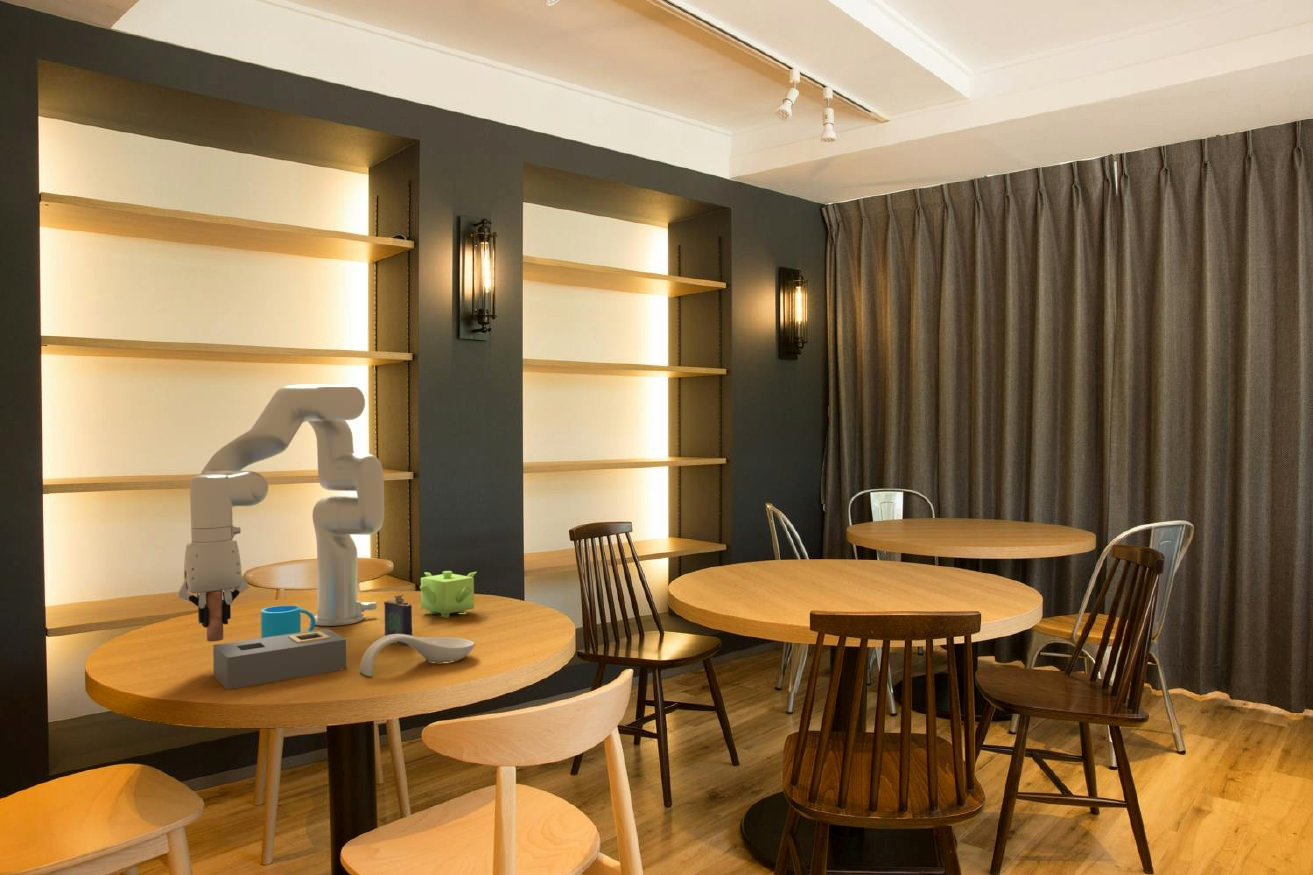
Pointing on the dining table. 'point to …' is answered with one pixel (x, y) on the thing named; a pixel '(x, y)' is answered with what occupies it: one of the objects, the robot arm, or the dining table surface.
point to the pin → (214, 616)
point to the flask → (398, 617)
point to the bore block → (278, 658)
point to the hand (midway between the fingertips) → (214, 623)
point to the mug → (283, 620)
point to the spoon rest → (419, 649)
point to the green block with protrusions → (447, 593)
